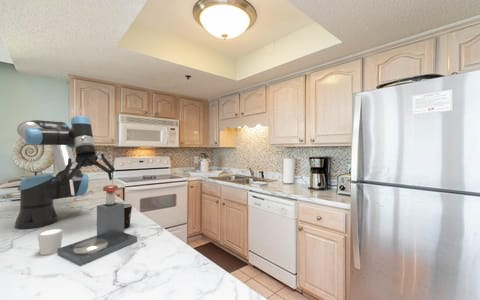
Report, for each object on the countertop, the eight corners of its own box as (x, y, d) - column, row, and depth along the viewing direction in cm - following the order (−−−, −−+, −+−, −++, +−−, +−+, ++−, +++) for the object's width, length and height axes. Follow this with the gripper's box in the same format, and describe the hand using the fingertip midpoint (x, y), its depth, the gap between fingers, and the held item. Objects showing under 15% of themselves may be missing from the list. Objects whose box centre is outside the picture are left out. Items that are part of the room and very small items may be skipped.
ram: (100, 215, 87) (100, 186, 87) (113, 211, 92) (112, 184, 91) (108, 217, 85) (108, 187, 85) (120, 213, 89) (120, 185, 89)
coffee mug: (123, 231, 96) (123, 209, 96) (106, 229, 98) (106, 207, 98) (140, 222, 107) (140, 202, 107) (125, 221, 109) (125, 201, 109)
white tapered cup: (48, 247, 81) (48, 228, 81) (67, 246, 82) (67, 228, 81) (32, 256, 74) (32, 236, 74) (53, 255, 75) (53, 235, 75)
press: (57, 254, 75) (57, 214, 75) (114, 234, 93) (113, 201, 93) (80, 265, 68) (80, 221, 68) (137, 241, 86) (136, 206, 86)
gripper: (48, 148, 92) (53, 196, 87) (115, 140, 105) (123, 182, 100) (52, 154, 98) (58, 200, 93) (115, 146, 111) (123, 186, 106)
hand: (92, 190), depth 96 cm, fingers open, 13 cm apart
